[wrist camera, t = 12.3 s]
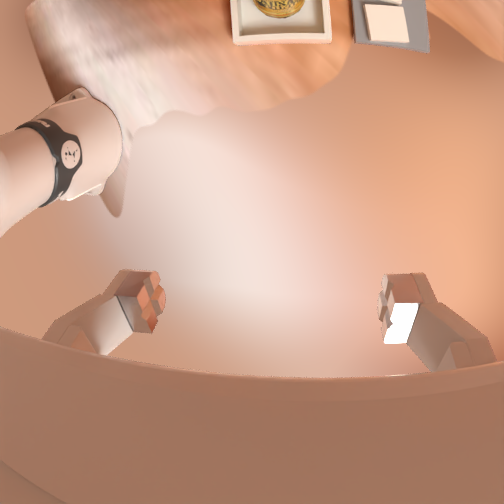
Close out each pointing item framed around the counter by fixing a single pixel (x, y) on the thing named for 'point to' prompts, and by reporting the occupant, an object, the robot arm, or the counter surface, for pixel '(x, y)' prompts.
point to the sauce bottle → (279, 7)
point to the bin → (281, 24)
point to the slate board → (414, 20)
